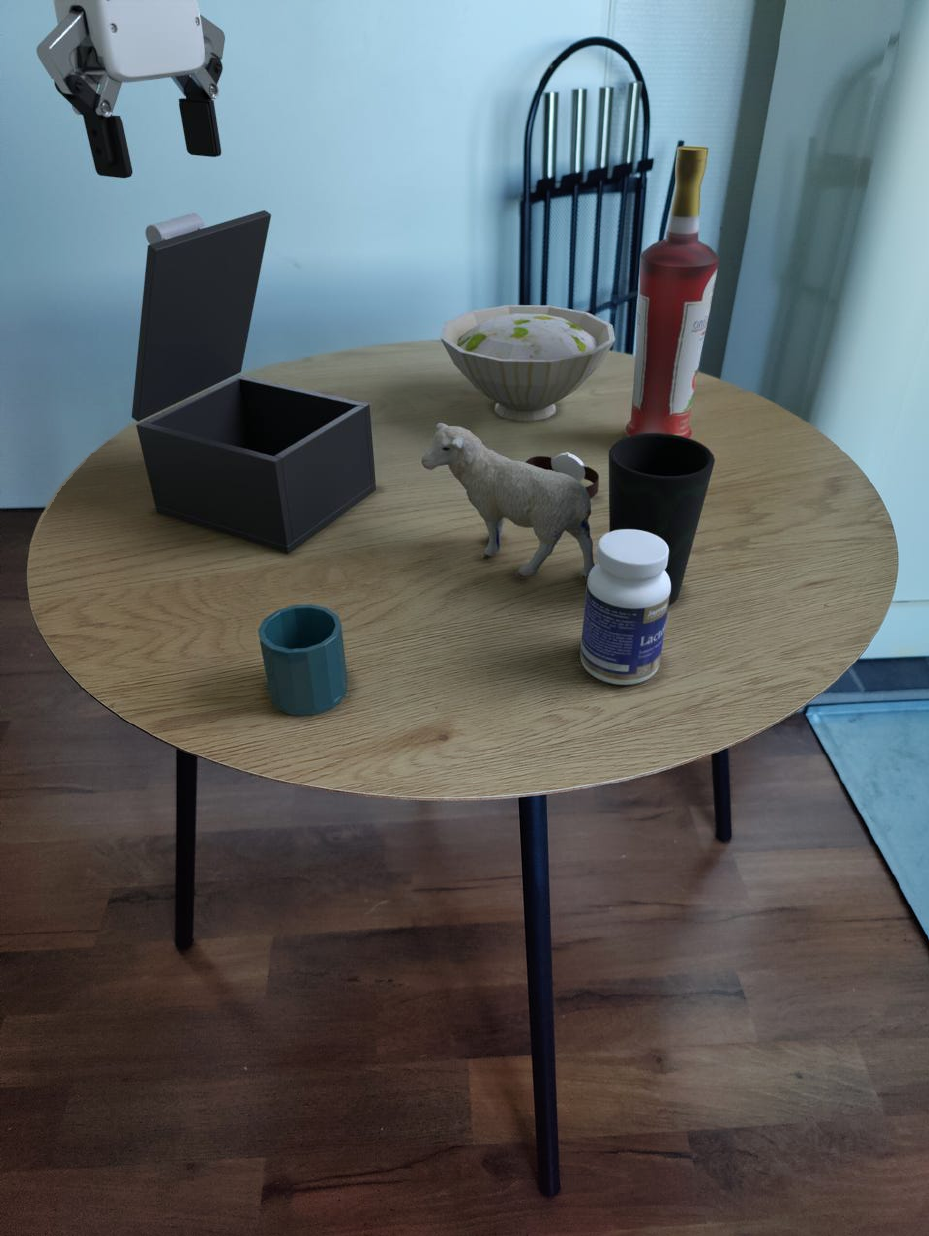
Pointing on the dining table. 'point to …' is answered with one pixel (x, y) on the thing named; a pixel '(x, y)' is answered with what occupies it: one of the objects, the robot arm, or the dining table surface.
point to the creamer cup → (304, 659)
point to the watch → (568, 469)
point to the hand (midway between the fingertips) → (162, 165)
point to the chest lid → (195, 306)
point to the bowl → (527, 354)
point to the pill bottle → (626, 607)
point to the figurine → (515, 495)
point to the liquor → (673, 309)
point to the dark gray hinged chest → (260, 460)
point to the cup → (660, 492)
